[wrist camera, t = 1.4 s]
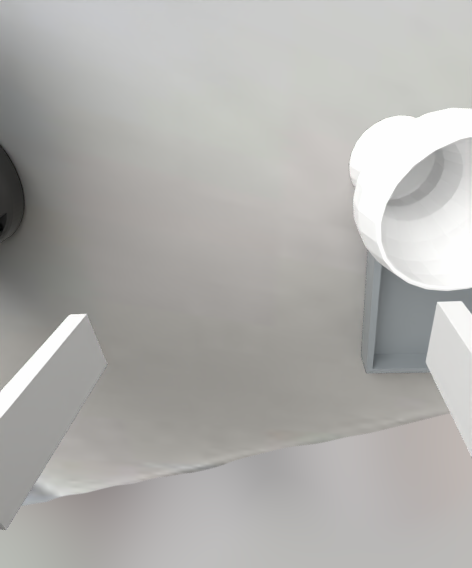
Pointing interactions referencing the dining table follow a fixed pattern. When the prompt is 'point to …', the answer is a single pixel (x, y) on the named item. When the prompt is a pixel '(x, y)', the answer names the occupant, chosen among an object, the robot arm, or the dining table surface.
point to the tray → (399, 320)
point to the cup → (417, 197)
